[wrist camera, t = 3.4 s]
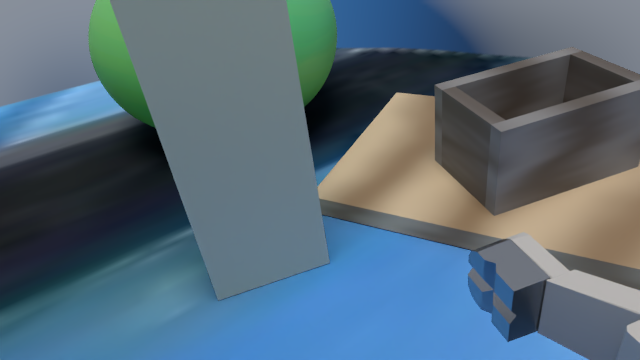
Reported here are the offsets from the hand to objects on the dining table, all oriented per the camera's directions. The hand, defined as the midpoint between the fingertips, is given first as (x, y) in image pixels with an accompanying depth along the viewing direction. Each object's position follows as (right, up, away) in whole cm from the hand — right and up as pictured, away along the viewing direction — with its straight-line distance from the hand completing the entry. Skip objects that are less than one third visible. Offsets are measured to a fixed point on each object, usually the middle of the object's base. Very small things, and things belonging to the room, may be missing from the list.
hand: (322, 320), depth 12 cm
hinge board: (+11, +4, +18) cm, 22 cm away
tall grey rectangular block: (-3, -1, +15) cm, 15 cm away
